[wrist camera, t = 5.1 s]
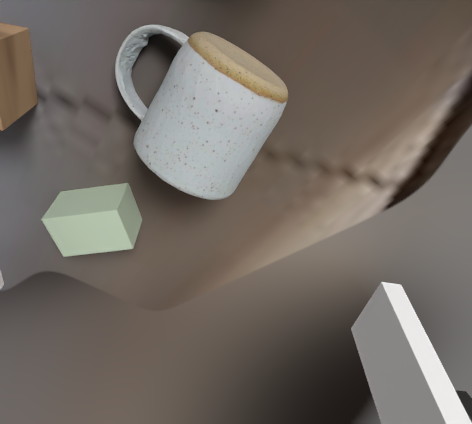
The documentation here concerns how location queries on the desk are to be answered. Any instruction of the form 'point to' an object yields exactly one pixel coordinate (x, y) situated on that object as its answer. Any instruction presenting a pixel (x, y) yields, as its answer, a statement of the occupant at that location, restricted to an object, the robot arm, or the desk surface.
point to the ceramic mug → (202, 111)
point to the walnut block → (15, 74)
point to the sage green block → (94, 220)
